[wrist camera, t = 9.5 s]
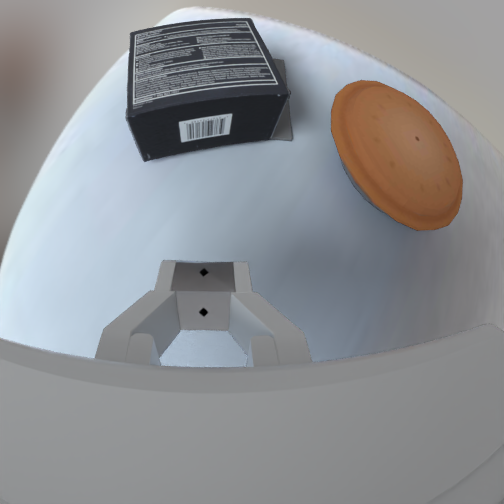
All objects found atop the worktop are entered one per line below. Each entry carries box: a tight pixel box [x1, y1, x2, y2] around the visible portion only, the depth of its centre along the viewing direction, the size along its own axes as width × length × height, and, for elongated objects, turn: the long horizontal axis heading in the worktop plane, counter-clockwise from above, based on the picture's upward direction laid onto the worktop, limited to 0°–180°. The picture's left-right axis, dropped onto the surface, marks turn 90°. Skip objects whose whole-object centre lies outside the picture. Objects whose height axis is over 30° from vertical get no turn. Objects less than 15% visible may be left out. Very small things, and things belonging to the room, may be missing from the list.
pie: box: [331, 80, 463, 231], centre depth 21 cm, size 15×16×5 cm
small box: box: [126, 18, 291, 162], centre depth 18 cm, size 11×6×10 cm
